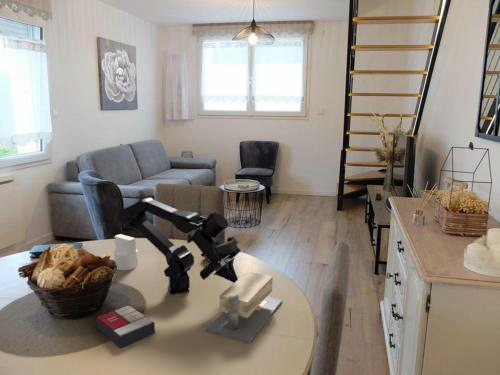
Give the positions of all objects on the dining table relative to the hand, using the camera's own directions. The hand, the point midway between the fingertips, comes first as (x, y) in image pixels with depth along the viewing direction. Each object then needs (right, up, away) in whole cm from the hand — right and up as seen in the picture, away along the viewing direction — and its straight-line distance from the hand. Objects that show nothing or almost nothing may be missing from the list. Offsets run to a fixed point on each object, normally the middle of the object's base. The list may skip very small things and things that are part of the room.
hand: (237, 282), depth 134 cm
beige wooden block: (+3, -8, -5) cm, 10 cm away
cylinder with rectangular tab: (-45, 0, +31) cm, 55 cm away
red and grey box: (-32, -11, -14) cm, 37 cm away
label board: (+3, -9, -5) cm, 11 cm away
